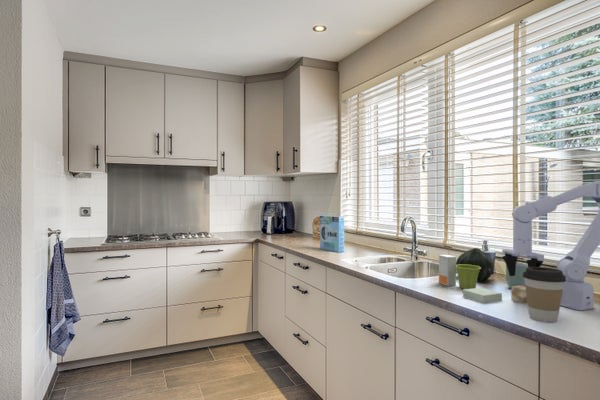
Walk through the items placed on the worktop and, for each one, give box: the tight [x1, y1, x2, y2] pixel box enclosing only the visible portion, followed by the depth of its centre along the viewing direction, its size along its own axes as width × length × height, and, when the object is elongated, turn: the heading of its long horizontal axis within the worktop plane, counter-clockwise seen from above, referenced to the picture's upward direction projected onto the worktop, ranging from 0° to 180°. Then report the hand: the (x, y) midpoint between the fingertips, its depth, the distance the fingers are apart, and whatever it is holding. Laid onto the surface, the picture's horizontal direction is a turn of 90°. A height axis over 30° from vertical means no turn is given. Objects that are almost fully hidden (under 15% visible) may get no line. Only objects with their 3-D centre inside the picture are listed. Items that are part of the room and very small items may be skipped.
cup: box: [505, 261, 528, 289], centre depth 157 cm, size 8×8×10 cm
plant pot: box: [456, 264, 481, 290], centre depth 157 cm, size 9×9×9 cm
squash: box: [456, 247, 494, 282], centre depth 173 cm, size 14×15×15 cm
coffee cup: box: [523, 266, 566, 324], centre depth 118 cm, size 11×11×15 cm
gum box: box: [319, 215, 345, 253], centre depth 258 cm, size 20×5×23 cm, turn 36°
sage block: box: [462, 287, 503, 304], centre depth 141 cm, size 9×9×3 cm
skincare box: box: [438, 254, 457, 287], centre depth 163 cm, size 6×4×12 cm
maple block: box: [510, 286, 527, 305], centre depth 138 cm, size 4×4×5 cm
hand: (521, 277), depth 138 cm, fingers open, 7 cm apart
